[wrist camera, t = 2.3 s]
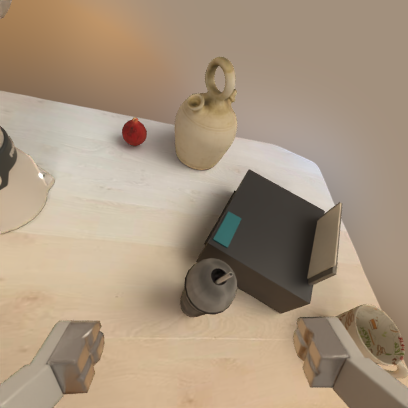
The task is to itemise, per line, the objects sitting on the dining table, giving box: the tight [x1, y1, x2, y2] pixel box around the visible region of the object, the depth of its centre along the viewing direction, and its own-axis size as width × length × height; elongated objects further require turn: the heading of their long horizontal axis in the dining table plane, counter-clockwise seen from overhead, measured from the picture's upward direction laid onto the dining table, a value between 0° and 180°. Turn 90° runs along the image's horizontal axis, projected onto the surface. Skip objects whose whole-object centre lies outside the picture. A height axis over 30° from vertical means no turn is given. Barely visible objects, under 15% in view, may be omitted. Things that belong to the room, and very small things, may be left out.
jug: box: [175, 57, 237, 170], centre depth 53 cm, size 15×16×25 cm
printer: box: [196, 170, 342, 313], centre depth 44 cm, size 19×22×16 cm
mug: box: [336, 304, 408, 379], centre depth 38 cm, size 8×13×10 cm, turn 49°
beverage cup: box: [180, 258, 237, 317], centre depth 32 cm, size 7×7×20 cm
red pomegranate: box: [122, 117, 147, 146], centre depth 55 cm, size 6×6×8 cm
